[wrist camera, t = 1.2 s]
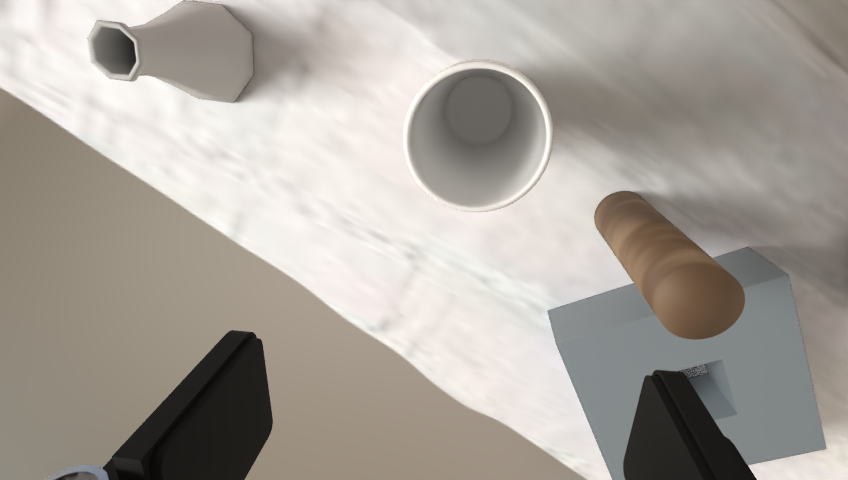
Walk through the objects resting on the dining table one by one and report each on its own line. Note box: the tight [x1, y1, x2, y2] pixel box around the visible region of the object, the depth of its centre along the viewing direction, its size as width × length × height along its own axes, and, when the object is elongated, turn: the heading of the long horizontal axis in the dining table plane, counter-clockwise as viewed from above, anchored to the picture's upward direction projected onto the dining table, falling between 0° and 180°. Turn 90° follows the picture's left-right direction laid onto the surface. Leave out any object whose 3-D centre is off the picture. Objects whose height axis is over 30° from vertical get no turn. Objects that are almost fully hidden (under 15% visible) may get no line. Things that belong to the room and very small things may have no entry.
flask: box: [87, 0, 254, 103], centre depth 30 cm, size 7×7×10 cm
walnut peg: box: [594, 191, 745, 340], centre depth 29 cm, size 4×4×14 cm
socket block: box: [548, 247, 826, 480], centre depth 37 cm, size 16×16×5 cm
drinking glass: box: [403, 59, 554, 212], centre depth 27 cm, size 7×7×15 cm
